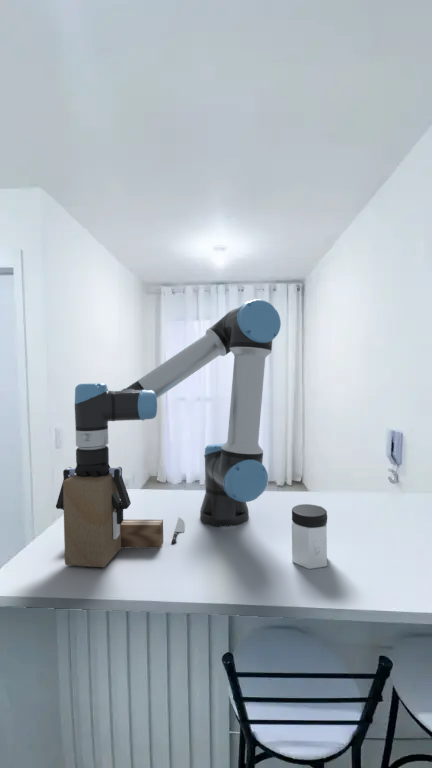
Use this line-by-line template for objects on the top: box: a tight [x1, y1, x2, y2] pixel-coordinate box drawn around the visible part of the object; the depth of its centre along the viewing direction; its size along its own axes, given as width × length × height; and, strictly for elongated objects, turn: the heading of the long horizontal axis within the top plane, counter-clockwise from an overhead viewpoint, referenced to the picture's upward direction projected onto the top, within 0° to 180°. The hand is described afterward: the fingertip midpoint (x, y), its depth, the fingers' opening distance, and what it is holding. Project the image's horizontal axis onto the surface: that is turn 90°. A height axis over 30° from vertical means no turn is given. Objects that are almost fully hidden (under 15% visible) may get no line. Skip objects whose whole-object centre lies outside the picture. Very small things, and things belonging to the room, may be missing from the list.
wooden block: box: [62, 473, 122, 568], centre depth 88 cm, size 10×10×20 cm
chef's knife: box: [171, 517, 186, 545], centre depth 105 cm, size 19×1×3 cm
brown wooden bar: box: [121, 518, 164, 549], centre depth 96 cm, size 24×4×6 cm, turn 87°
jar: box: [291, 503, 328, 570], centre depth 86 cm, size 9×8×12 cm
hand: (94, 536), depth 88 cm, fingers closed on wooden block, 10 cm apart
